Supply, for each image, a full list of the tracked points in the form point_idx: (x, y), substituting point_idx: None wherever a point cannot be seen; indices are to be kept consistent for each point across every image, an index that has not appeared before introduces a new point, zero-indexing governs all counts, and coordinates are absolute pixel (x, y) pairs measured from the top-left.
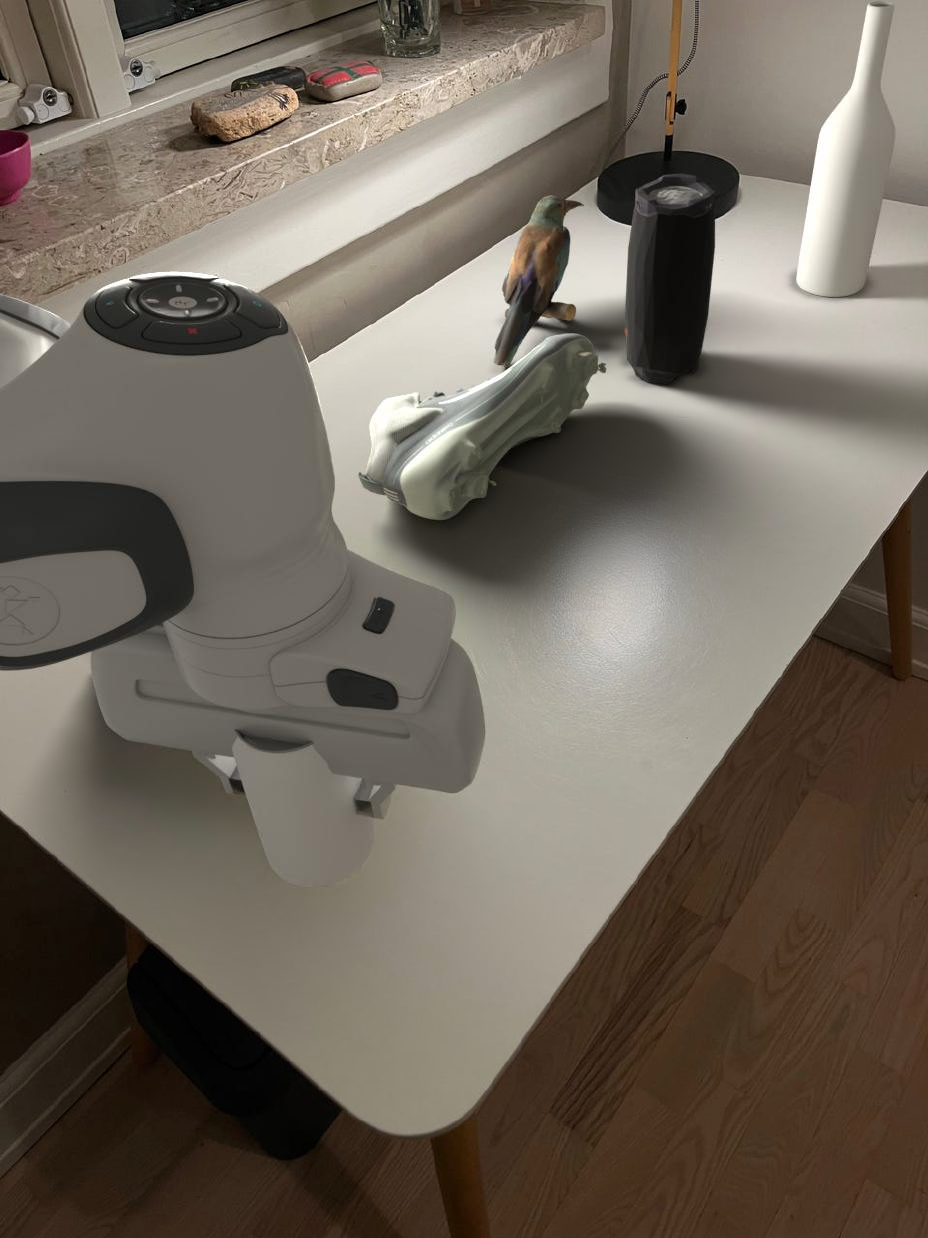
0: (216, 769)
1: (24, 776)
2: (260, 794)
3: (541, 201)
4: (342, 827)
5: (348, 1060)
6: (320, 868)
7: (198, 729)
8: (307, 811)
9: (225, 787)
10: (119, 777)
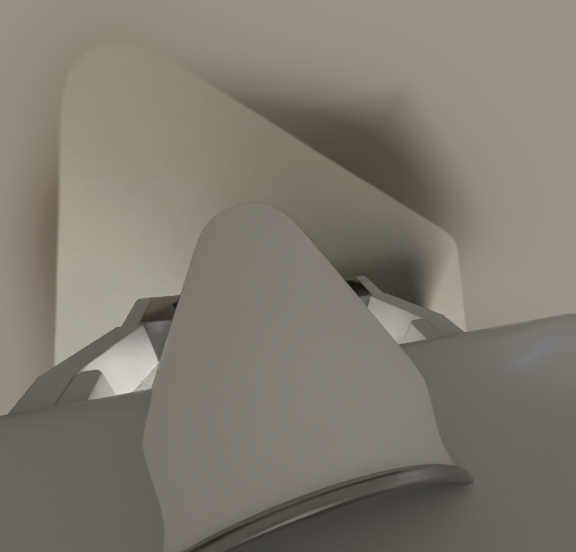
0: (395, 303)
1: (451, 258)
2: (319, 287)
3: None
4: (189, 271)
5: (190, 101)
6: (224, 219)
7: (541, 414)
8: (217, 279)
9: (368, 281)
10: (403, 271)
